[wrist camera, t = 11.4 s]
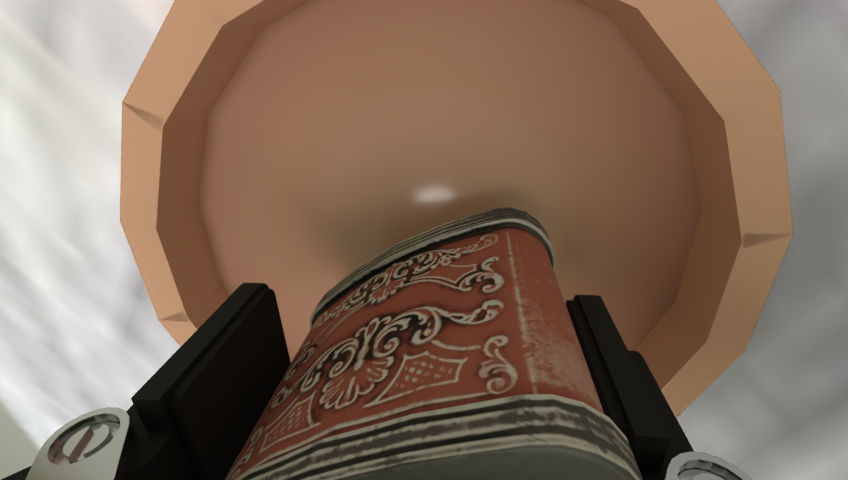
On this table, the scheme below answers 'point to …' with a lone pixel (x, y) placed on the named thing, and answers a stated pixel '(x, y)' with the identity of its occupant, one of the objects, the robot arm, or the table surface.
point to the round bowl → (462, 157)
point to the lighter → (442, 370)
